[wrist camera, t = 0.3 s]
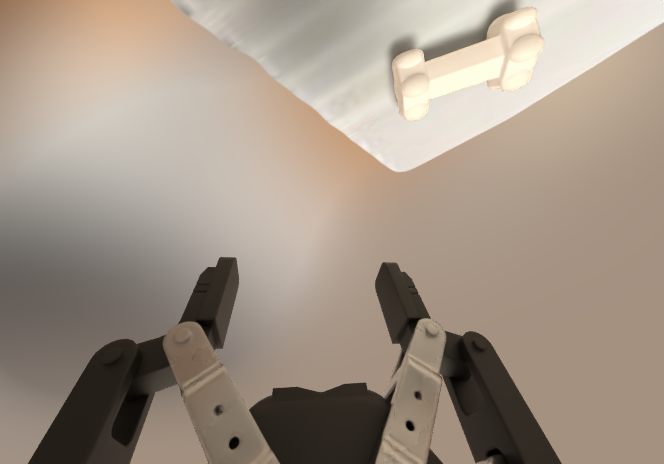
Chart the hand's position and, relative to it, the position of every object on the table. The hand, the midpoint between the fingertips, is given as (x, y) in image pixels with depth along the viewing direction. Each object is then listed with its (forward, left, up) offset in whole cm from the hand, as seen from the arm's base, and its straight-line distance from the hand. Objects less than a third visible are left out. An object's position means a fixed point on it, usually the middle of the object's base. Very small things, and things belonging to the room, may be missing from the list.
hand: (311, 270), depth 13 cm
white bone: (+11, +15, -31) cm, 36 cm away
